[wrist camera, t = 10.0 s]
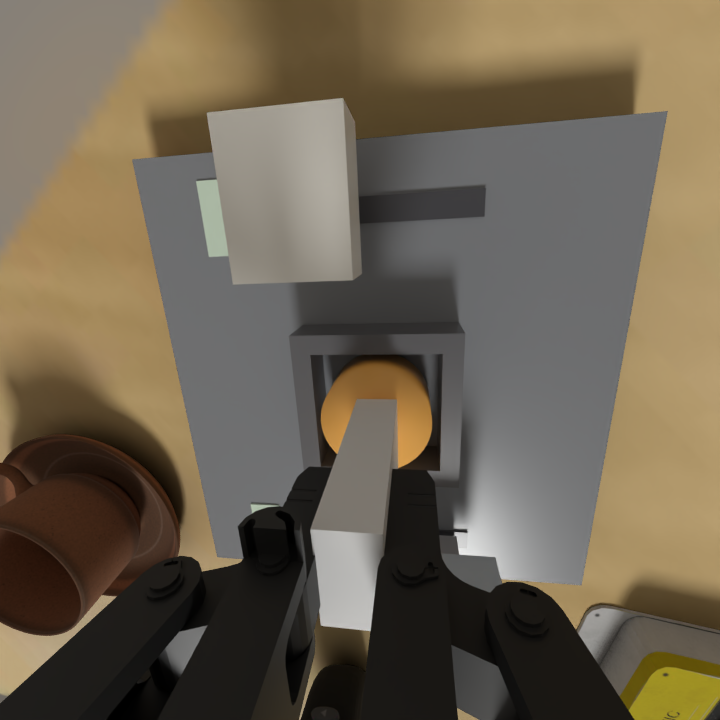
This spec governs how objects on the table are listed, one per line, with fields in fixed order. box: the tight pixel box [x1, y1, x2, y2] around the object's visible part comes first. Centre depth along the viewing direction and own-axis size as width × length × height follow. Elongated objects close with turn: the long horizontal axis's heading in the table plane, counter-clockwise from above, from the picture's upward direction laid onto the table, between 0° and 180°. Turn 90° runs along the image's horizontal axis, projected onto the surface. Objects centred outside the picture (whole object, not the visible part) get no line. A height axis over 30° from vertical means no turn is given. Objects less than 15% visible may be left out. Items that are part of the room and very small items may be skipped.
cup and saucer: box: [0, 434, 180, 636], centre depth 22 cm, size 12×12×6 cm
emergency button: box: [577, 605, 720, 720], centre depth 21 cm, size 9×4×15 cm
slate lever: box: [439, 535, 502, 592], centre depth 16 cm, size 4×4×5 cm
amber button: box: [321, 354, 432, 468], centre depth 16 cm, size 4×4×2 cm
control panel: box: [132, 111, 668, 585], centre depth 17 cm, size 20×21×4 cm
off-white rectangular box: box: [207, 98, 362, 285], centre depth 12 cm, size 4×4×5 cm
